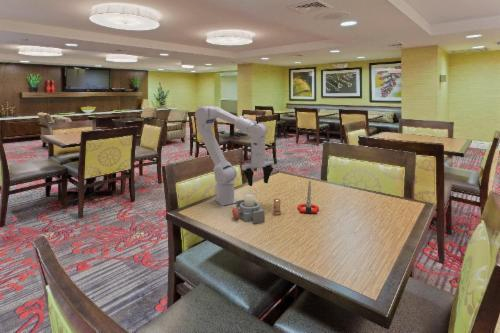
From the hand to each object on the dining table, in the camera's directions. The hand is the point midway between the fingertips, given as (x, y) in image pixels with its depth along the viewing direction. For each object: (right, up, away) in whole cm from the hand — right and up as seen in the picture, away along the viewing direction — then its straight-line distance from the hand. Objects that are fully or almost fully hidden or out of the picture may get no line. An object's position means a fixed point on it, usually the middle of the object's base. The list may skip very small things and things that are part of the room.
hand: (258, 184), depth 138 cm
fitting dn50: (-4, -9, -8) cm, 13 cm away
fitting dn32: (+8, -12, -4) cm, 15 cm away
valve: (-5, -13, -8) cm, 16 cm away
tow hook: (+21, -11, 0) cm, 24 cm away
